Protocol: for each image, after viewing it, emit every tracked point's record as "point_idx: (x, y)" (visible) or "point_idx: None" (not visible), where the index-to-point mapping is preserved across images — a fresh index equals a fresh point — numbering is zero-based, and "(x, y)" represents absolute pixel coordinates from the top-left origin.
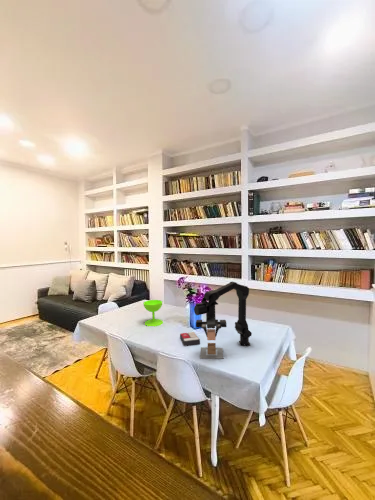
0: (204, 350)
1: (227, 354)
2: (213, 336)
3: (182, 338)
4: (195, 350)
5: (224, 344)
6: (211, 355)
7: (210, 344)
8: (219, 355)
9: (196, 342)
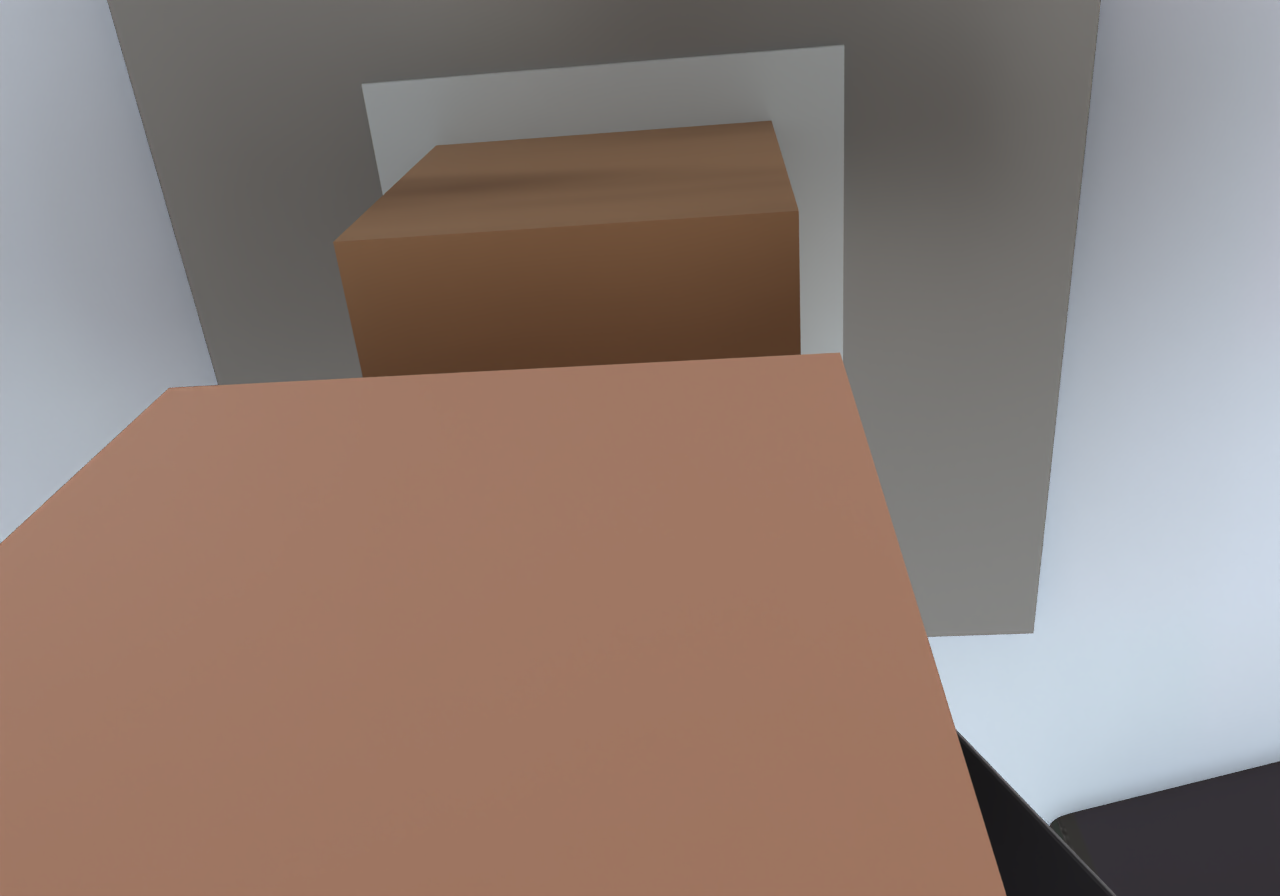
0: (906, 426)
1: (34, 247)
2: (182, 552)
3: None
4: (1248, 437)
5: None
6: (605, 41)
7: None
8: (281, 80)
9: (1199, 856)
